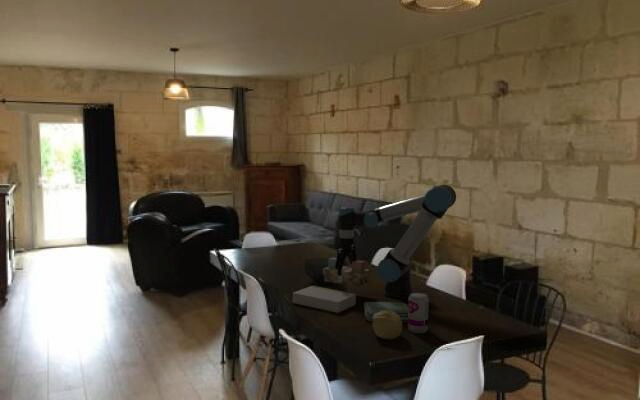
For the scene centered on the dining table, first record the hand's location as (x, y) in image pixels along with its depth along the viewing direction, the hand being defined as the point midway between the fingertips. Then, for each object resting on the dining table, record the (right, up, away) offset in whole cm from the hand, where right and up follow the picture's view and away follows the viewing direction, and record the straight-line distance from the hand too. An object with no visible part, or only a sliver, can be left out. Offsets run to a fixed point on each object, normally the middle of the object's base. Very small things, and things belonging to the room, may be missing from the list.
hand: (346, 279), depth 265 cm
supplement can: (+27, -13, -51) cm, 59 cm away
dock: (-12, -9, -16) cm, 22 cm away
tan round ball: (+13, -14, -59) cm, 62 cm away
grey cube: (-6, +6, +4) cm, 9 cm away
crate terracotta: (+6, +5, -5) cm, 9 cm away
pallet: (0, -1, 0) cm, 1 cm away
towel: (+17, -12, -32) cm, 38 cm away
